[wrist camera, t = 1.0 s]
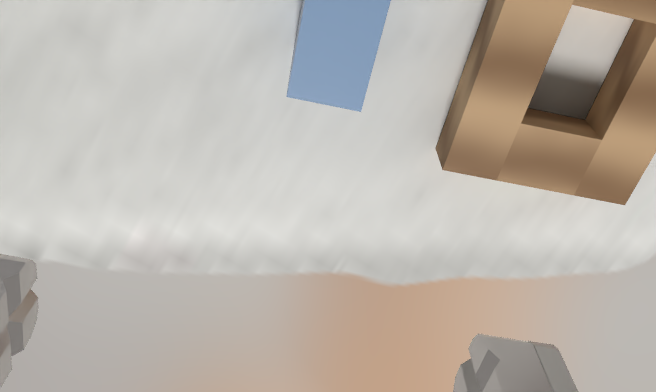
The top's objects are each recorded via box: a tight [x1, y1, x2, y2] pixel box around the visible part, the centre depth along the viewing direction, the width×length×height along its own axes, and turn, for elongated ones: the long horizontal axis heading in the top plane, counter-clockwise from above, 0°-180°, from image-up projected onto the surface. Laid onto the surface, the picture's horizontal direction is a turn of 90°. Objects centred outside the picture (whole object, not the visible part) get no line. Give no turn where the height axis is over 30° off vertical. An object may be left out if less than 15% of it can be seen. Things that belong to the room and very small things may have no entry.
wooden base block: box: [436, 0, 656, 205], centre depth 37 cm, size 16×13×3 cm
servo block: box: [287, 0, 391, 112], centre depth 33 cm, size 9×4×8 cm, turn 168°
